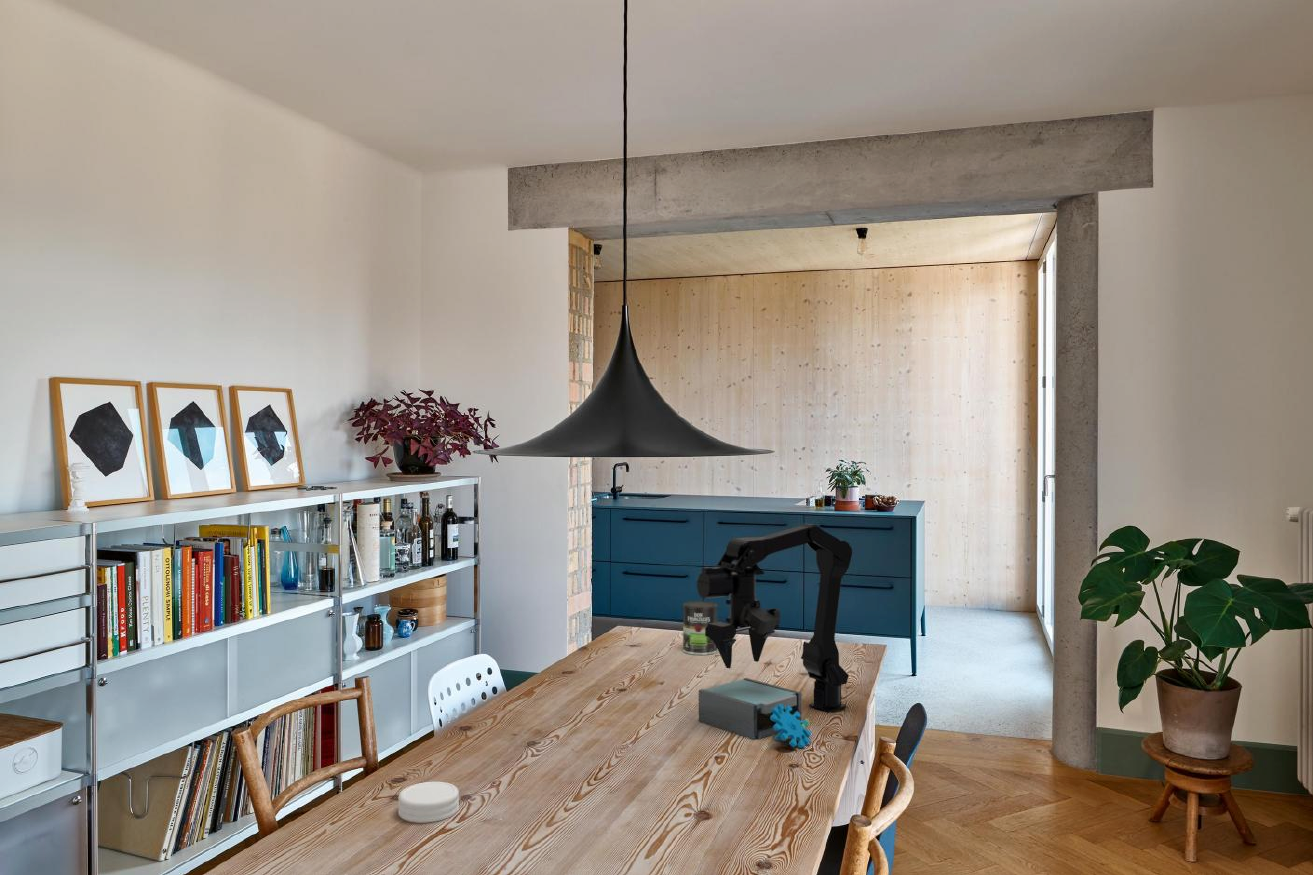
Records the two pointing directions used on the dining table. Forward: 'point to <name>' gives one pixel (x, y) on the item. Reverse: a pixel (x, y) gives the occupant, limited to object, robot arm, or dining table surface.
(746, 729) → the grey drawer box
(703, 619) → the coffee can
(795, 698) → the sliding box lid
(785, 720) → the gear
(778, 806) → the dining table surface
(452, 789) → the coaster
